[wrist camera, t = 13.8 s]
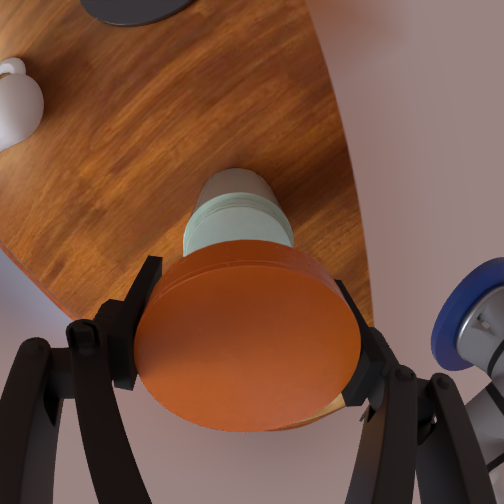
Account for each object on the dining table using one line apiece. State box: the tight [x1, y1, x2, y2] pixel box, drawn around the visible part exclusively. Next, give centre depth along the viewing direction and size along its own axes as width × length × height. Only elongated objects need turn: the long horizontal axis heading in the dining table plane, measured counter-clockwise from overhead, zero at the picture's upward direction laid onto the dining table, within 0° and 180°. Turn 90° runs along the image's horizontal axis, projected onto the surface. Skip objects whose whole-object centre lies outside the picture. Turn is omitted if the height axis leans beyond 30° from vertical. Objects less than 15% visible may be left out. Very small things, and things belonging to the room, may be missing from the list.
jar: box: [183, 168, 294, 257], centre depth 26 cm, size 8×8×12 cm
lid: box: [133, 239, 361, 432], centre depth 12 cm, size 9×9×2 cm
